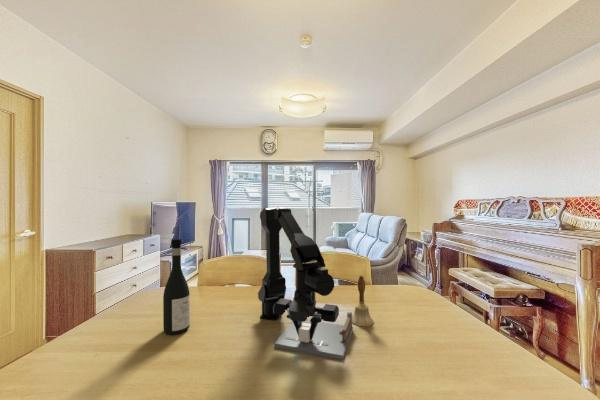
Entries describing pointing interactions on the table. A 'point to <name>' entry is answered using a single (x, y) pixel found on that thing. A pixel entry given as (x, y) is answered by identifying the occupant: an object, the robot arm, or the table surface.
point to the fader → (304, 332)
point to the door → (346, 329)
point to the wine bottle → (176, 296)
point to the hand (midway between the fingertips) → (305, 338)
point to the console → (317, 340)
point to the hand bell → (361, 308)
